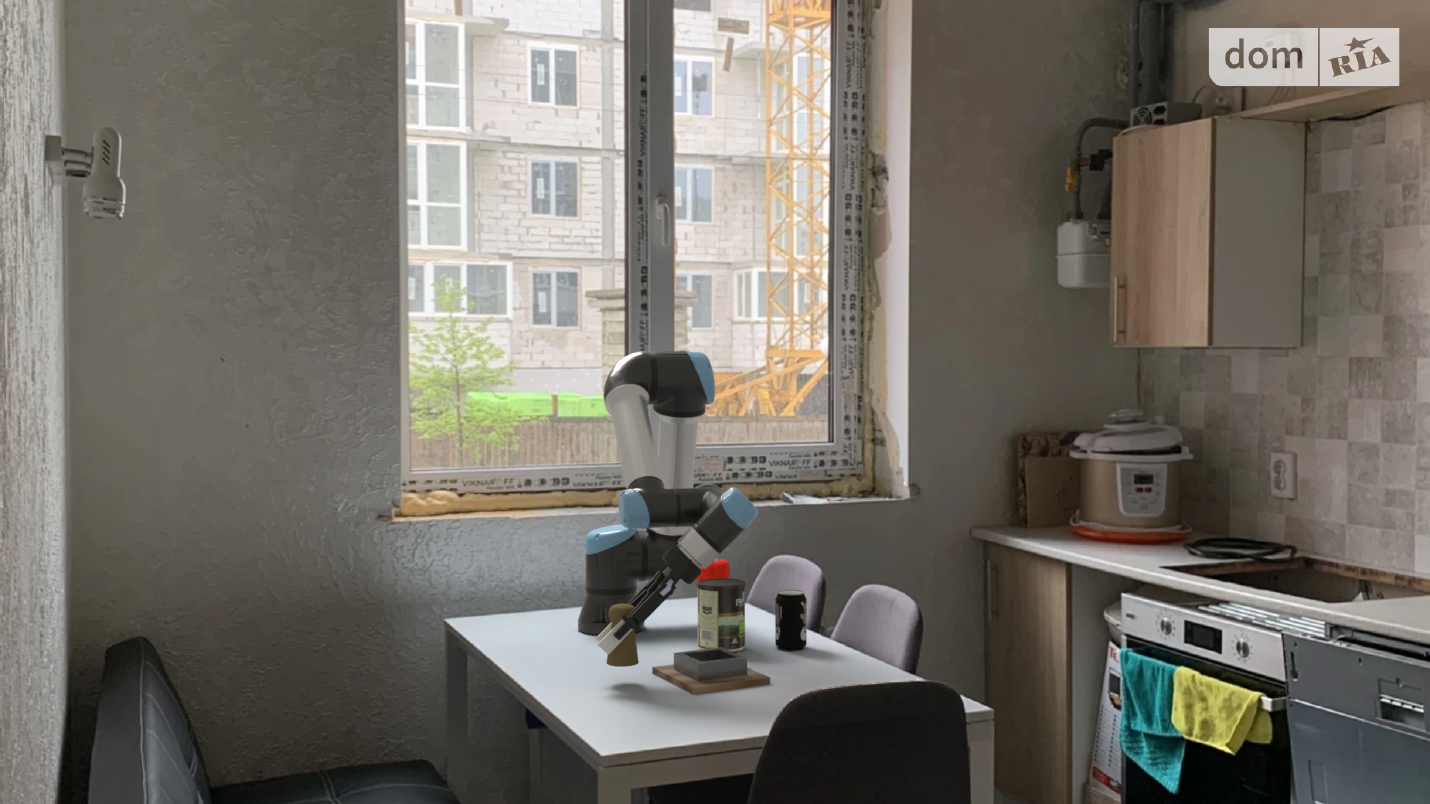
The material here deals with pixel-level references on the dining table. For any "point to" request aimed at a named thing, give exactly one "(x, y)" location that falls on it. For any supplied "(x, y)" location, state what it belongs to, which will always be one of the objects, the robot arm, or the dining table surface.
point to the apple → (715, 570)
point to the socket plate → (710, 671)
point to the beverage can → (790, 620)
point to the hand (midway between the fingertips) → (602, 645)
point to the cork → (627, 647)
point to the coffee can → (721, 614)
